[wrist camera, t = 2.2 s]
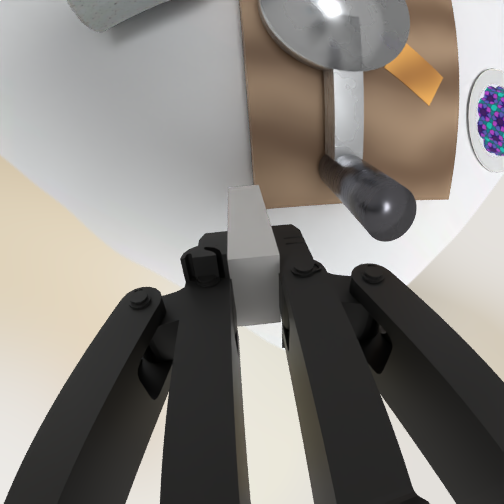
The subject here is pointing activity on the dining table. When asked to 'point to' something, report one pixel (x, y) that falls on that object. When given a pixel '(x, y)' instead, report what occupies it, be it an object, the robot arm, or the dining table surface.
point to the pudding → (488, 119)
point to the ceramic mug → (109, 11)
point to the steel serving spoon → (348, 94)
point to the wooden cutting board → (375, 111)
